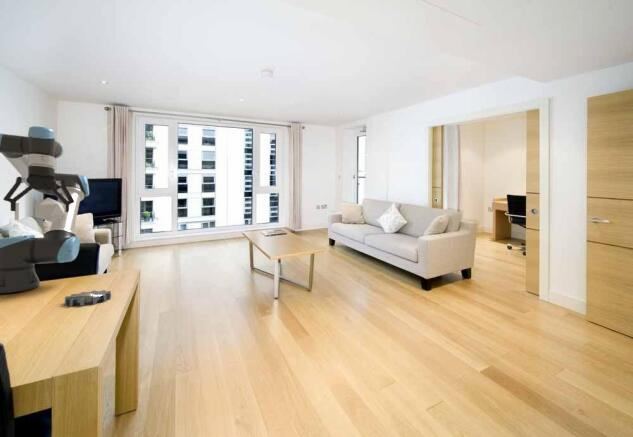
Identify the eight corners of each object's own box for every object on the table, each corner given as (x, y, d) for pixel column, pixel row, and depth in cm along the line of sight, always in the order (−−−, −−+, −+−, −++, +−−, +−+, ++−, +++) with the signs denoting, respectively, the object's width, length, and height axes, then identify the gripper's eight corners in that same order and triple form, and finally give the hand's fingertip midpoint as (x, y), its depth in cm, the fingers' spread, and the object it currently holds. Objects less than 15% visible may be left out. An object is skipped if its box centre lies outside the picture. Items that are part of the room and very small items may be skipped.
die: (71, 220, 119) (68, 196, 118) (54, 222, 110) (50, 196, 109) (49, 221, 118) (45, 197, 117) (30, 224, 109) (26, 198, 108)
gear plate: (60, 302, 113) (60, 295, 113) (103, 294, 125) (103, 288, 125) (70, 308, 104) (70, 302, 104) (116, 299, 116) (116, 293, 116)
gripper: (-5, 160, 100) (-5, 220, 100) (83, 170, 120) (83, 220, 120) (-7, 162, 105) (-8, 220, 105) (78, 172, 125) (78, 220, 125)
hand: (41, 220), depth 113 cm, fingers open, 13 cm apart
